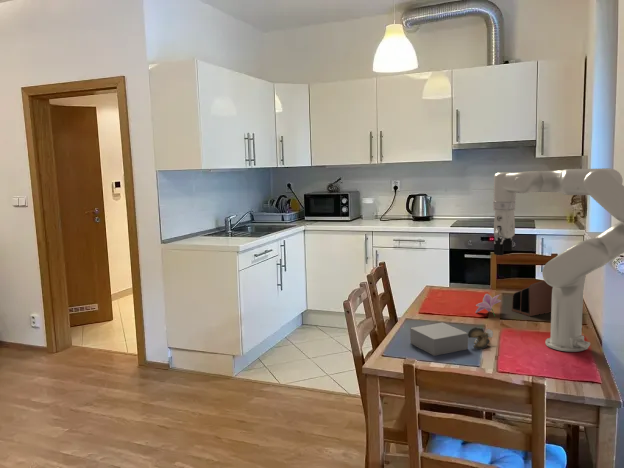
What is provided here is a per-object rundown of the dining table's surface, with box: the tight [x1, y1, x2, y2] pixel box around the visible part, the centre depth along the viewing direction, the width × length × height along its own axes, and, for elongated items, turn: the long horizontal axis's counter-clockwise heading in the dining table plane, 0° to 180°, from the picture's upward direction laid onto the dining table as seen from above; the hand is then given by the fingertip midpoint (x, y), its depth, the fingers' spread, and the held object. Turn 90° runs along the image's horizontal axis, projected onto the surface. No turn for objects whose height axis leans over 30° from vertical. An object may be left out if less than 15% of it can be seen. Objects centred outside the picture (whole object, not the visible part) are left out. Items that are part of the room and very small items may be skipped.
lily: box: [475, 293, 502, 317], centre depth 216 cm, size 12×12×10 cm
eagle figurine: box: [467, 326, 494, 350], centre depth 181 cm, size 8×7×9 cm
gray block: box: [409, 321, 469, 356], centre depth 181 cm, size 14×14×6 cm
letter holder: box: [511, 280, 553, 317], centre depth 220 cm, size 10×20×14 cm, turn 114°
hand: (503, 252), depth 190 cm, fingers open, 9 cm apart
